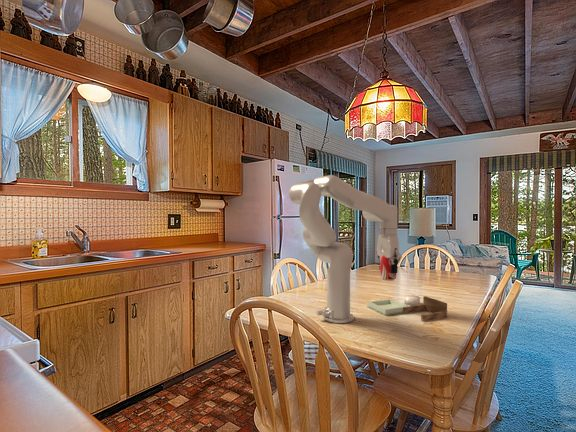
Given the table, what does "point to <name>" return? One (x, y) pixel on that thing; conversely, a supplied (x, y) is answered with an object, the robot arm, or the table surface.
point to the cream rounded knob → (412, 300)
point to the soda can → (386, 269)
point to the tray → (386, 306)
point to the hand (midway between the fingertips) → (388, 271)
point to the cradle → (429, 309)
